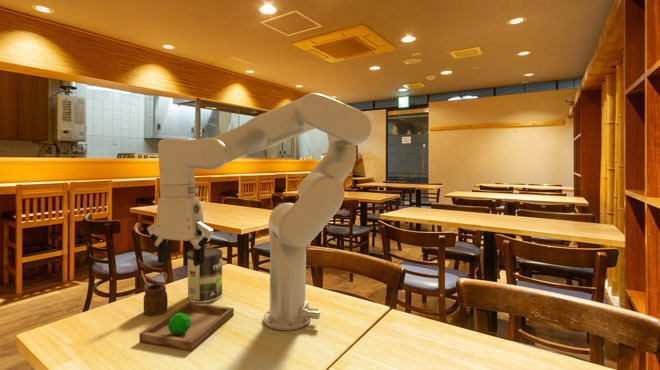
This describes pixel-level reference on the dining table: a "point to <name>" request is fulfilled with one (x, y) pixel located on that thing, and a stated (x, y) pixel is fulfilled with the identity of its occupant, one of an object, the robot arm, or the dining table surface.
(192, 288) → the coffee can
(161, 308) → the utensil holder
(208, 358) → the dining table surface
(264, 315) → the robot arm
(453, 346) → the dining table surface
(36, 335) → the dining table surface
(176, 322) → the polyhedron
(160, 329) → the tray
